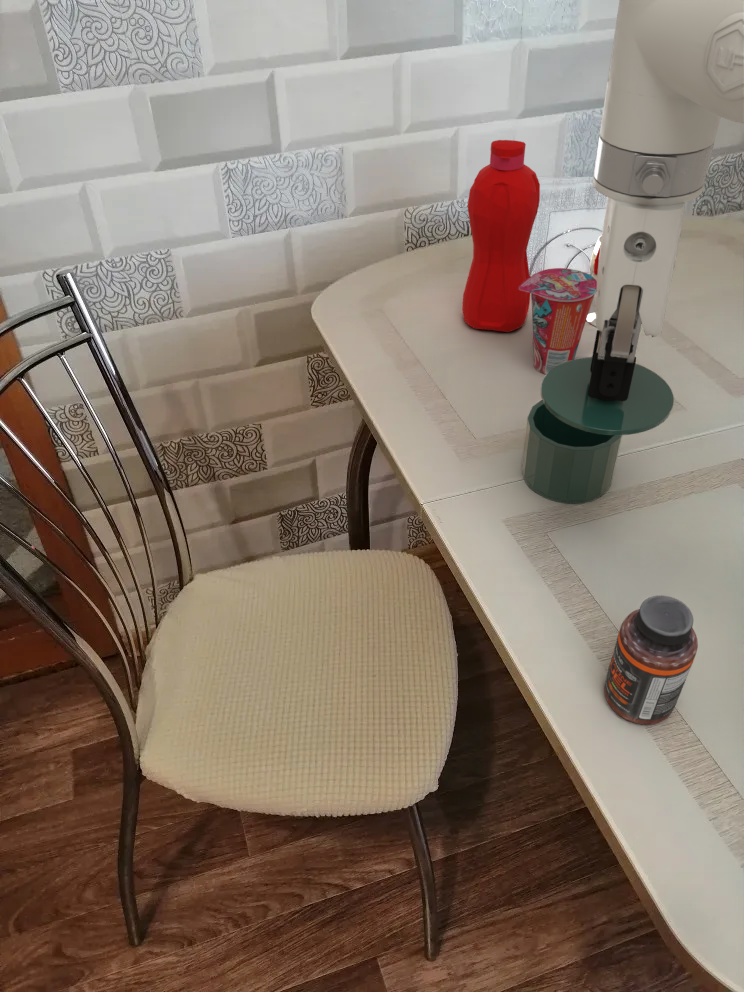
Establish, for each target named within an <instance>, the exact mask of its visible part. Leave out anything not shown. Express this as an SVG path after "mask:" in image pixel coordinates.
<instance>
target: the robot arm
mask: <svg viewBox="0 0 744 992" xmlns="http://www.w3.org/2000/svg"><path fill="white" fill-rule="evenodd" d="M721 118H723V119H725V120H728V121H731V122H735V123H740V124H744V0H619V1H618V8H617V14H616V22H615V28H614V34H613V41H612V49H611V55H610V62H609V68H608V76H607V82H606V88H605V94H604V103H603V110H602V116H601V123H600V129H599V137H598V144H597V150H596V157H595V162H594V163H595V164H594V168H593V169H594V170H593V177H592V186H593V188H594V189H595V190H596V192H598V193H600V194H601V195H603V196H604V197H606V206H605V212H604V216H603V217H604V218H603V223H602V224H603V225H602V231H601V236H602V238H601V245H600V253H599V263H598V274H597V292H596V293H595V294H596V296H595V297H596V298H595V312H596V326H595V327H596V328H597V329H596V333H595V338H594V344H593V351H592V356H591V357H592V361H591V368H590V371H591V378H590V384H589V389H588V396H589V397H591V398H599V399H608V400H616V401H625V400H627V399H628V395H629V390H630V386H631V381H632V376H633V372H634V367H635V363H636V362H637V357H636V352H637V348H638V344H639V343H638V342H639V339H640V338H639V337H640V333H641V328H642V330H643V333H644V336H651V338H657V337H659V335H660V334H661V333H662V332H663V327H664V321H665V315H666V311H667V305H668V301H669V295H670V291H671V286H672V281H673V276H674V271H675V268H676V267H675V266H676V261H677V256H678V251H679V247H680V242H681V235H682V228H683V222H684V216H685V209H686V203H688V202H691V201H694V200H695V199H697V198H698V197H699V196H700V195H702V193H703V191H704V188H705V183H706V179H707V174H708V170H709V166H710V162H711V158H712V154H713V149H714V146H715V141H716V139H717V134H718V130H719V125H720V123H721V122H720V121H721ZM600 332H602V335H601V340H600V346H599V352H598V353H596V352H597V346H598V340H599V335H600ZM609 333H614V338H613V339H609V340H608V337H609ZM636 364H637V363H636Z"/></svg>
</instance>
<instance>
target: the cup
mask: <svg viewBox="0 0 744 992" xmlns="http://www.w3.org/2000/svg"><path fill="white" fill-rule="evenodd" d="M519 290H522V291H526V292H530V301H531V323H532V325H531V326H532V360H533V362H532V363H533V367H534V369H535V370H537V371H538V372H539V373H541V374H544V375H546V374H547V373H548V372H549V371H550V370H552V369H553V368H554V367H556V366H558V365H560V364H562V363H564V362H567V361H570V360H574V359H576V358H575V357H576V354H577V351H578V349H579V348H578V347H579V344H580V342H581V338H582V335H583V331H584V329H585V325H586V322H587V320H586V319H587V316H588V314H590V313H589V312H590V309H591V307H592V303H593V300H594V297H595V294H596V293H597V281H596V280H595V279H594V278H593V277H592V276H591V274H589V273H587V272H585V271H581V270H578V269H572V268H566V267H565V268H563V267H553V268H548V269H543V270H540V271H538V272H535V273H534V274H533V275H530V278H528V279H527V280H526V281H525V282H523V283H522V284H521V285H520V286H519Z"/></svg>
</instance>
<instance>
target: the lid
mask: <svg viewBox="0 0 744 992" xmlns="http://www.w3.org/2000/svg"><path fill="white" fill-rule="evenodd" d="M601 335H602V332H600V335H599V340H598V346H597V352H596V353H598V352H599V346H600V340H601ZM613 338H614V333H609V337H608V340H609V339H613ZM591 361H592V356H590V357H589V356H587V357H581V358H574V360H570V361H567V362H564V363H562V364H560V365H558V366H556V367H554V368H553V369H552V370H550V371H549V372H548V373H547V374H545V375H544V377H543V379H542V382H541V385H540V396H541V400H542V401H543V403H544V405H545V406H546V408H547V409H548V410H549V411H550V412H551V413H552V414H553V415H554V416H555V417H557V418H558V419H560V420H561V421H563V422H565V423H566V424H568V425H571V426H573V427H575V428H578V429H581V430H584V431H588V432H592V433H597V434H604V435H622V436H629V435H636V434H642V433H644V432H648V431H650V430H653V429H655V428H656V427H659V426H660V425H661V424H663V423H664V422H665V421H666V420H667V419H668V418H669V417H670V415H671V414H672V411H673V408H674V407H673V406H674V402H675V399H674V398H675V397H674V394H673V391H672V389H671V386H670V385H669V384H668V383H667V381H666V380H665V379H663V377H661V376H660V375H659V374H657V373H656V372H654V371H653V370H651V369H649V368H648V367H645V366H643V365H641V364H639V363H635V367H634V372H633V376H632V381H631V386H630V390H629V395H628V399H627V400H625V401H616V400H608V399H599V398H591V397H589V396H588V389H589V384H590V378H591V371H590V368H591Z"/></svg>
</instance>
